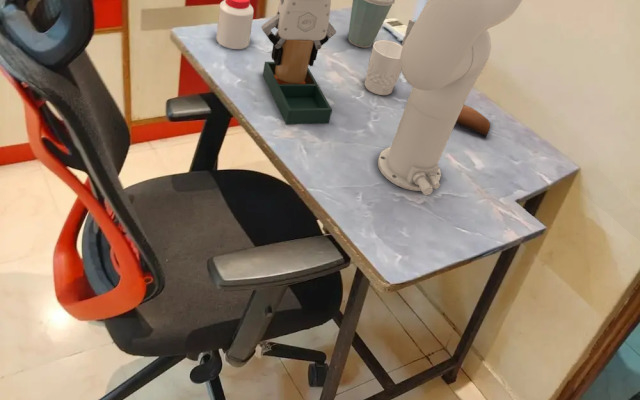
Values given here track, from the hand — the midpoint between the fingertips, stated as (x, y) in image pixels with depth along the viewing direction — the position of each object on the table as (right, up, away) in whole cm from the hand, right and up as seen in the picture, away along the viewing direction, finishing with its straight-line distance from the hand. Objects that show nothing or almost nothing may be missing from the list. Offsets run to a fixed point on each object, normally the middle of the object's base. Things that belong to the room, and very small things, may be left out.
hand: (292, 61), depth 126 cm
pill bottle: (-15, +8, +14) cm, 22 cm away
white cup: (+19, -3, +12) cm, 23 cm away
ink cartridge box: (+31, +5, +25) cm, 40 cm away
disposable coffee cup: (+16, +11, +27) cm, 34 cm away
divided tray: (0, -8, +1) cm, 8 cm away
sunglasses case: (+35, -11, +9) cm, 38 cm away
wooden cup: (-1, -2, +2) cm, 3 cm away
